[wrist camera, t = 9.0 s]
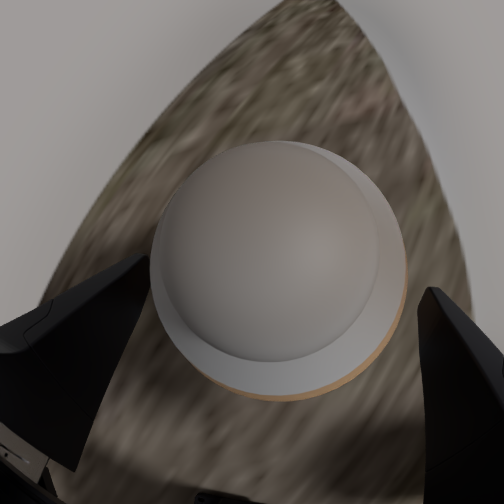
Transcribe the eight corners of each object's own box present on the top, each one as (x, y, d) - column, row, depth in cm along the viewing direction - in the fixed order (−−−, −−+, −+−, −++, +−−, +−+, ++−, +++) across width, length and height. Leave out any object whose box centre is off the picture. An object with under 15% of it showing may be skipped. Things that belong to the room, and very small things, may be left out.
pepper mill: (324, 343, 16) (440, 514, 2) (240, 326, 17) (14, 393, 2) (341, 259, 17) (490, 76, 2) (258, 243, 18) (121, 36, 3)
